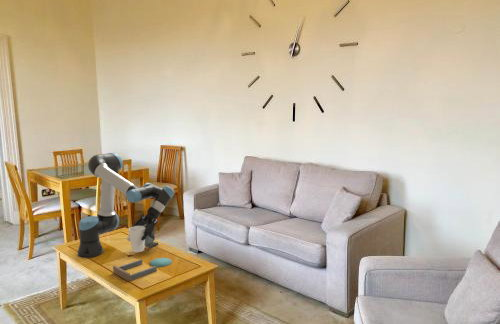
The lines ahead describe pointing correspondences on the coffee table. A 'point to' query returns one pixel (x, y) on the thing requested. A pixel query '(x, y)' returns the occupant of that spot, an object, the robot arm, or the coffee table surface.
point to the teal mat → (160, 262)
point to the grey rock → (150, 240)
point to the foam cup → (136, 237)
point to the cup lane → (126, 275)
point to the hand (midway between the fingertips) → (132, 242)
